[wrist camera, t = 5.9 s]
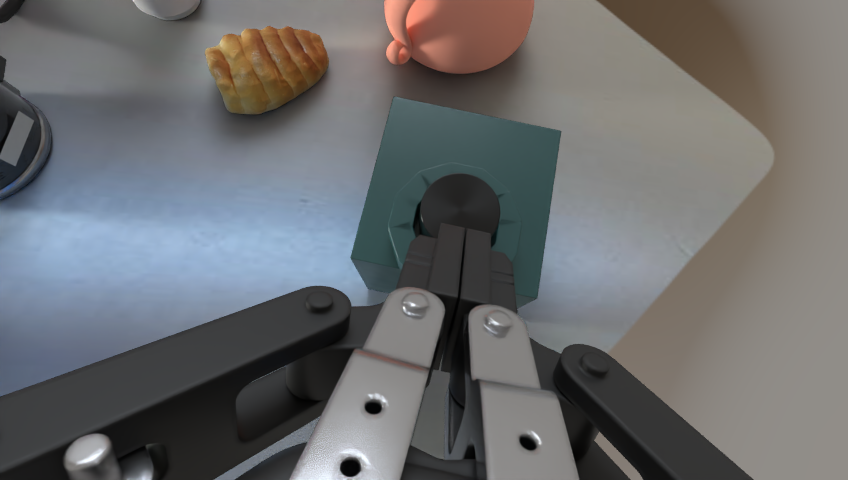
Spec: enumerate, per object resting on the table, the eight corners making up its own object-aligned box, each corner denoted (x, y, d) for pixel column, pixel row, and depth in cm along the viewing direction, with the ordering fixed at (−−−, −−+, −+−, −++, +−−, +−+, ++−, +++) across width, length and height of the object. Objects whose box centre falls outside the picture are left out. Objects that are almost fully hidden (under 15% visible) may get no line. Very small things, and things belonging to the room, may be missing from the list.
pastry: (312, 27, 39) (302, -8, 35) (343, 88, 37) (336, 58, 34) (209, 65, 37) (187, 33, 34) (236, 130, 36) (217, 104, 32)
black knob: (483, 268, 22) (493, 256, 19) (412, 253, 22) (412, 238, 19) (496, 200, 22) (506, 181, 20) (427, 186, 23) (429, 165, 20)
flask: (497, 328, 32) (546, 310, 21) (364, 299, 32) (340, 265, 21) (519, 193, 35) (574, 111, 24) (397, 168, 35) (392, 74, 24)
